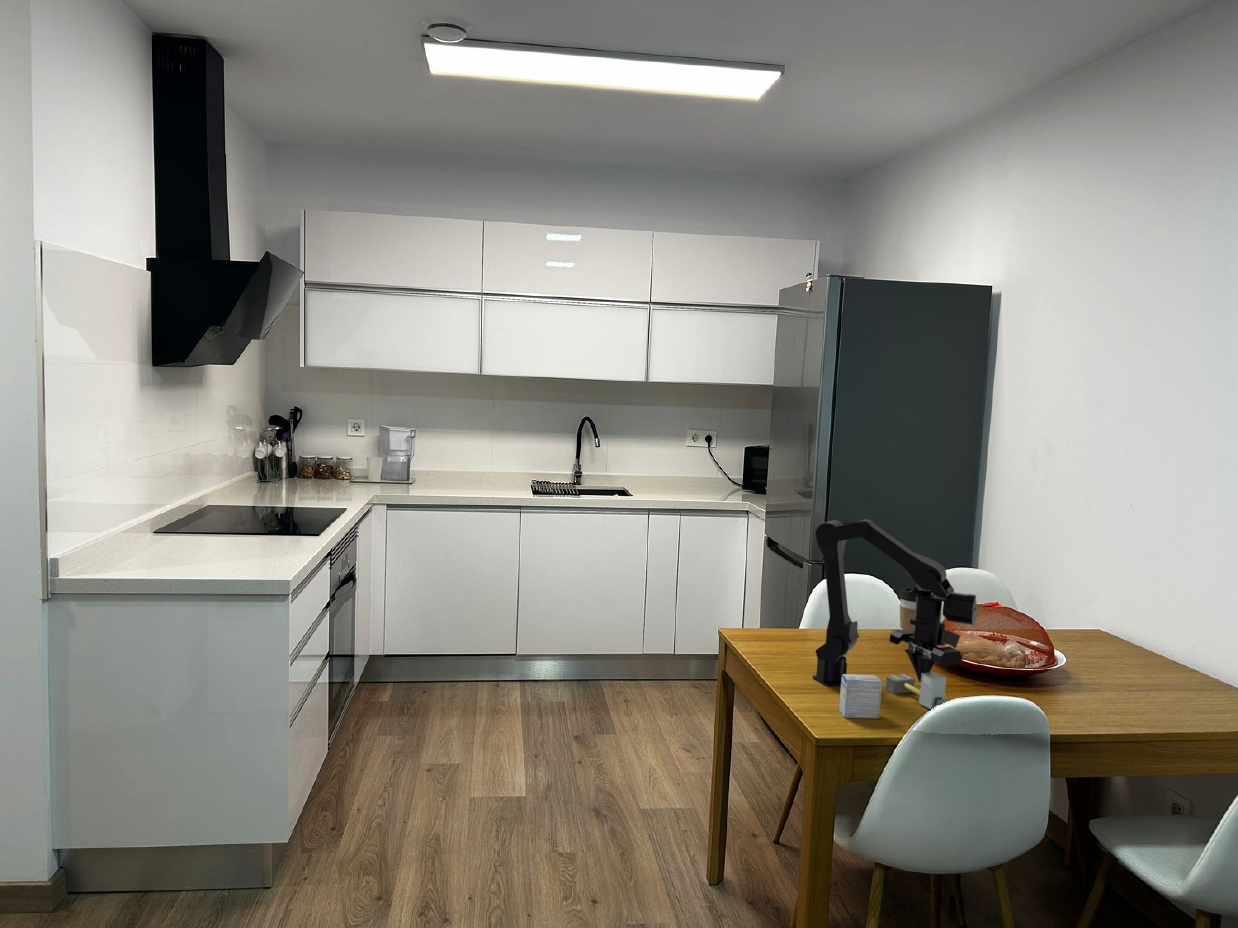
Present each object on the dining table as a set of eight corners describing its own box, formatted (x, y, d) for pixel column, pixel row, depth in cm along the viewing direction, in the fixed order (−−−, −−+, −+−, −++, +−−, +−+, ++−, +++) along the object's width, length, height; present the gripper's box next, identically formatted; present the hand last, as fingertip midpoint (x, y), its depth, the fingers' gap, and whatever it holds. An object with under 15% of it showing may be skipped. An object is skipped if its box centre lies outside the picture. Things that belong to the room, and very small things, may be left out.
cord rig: (940, 718, 205) (941, 703, 205) (885, 689, 222) (886, 675, 222) (961, 716, 207) (962, 700, 207) (905, 687, 225) (906, 673, 224)
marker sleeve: (930, 709, 209) (933, 678, 209) (919, 702, 213) (921, 673, 212) (943, 707, 211) (946, 677, 210) (931, 701, 215) (934, 672, 214)
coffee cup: (892, 641, 265) (897, 590, 263) (898, 634, 272) (903, 584, 271) (923, 646, 261) (927, 594, 259) (928, 639, 268) (932, 589, 267)
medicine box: (873, 712, 207) (876, 674, 206) (879, 719, 203) (882, 681, 202) (838, 710, 207) (841, 673, 206) (843, 718, 202) (846, 679, 201)
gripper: (984, 626, 208) (978, 693, 210) (928, 604, 225) (922, 666, 227) (945, 629, 204) (939, 697, 205) (890, 607, 221) (885, 670, 223)
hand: (921, 682), depth 215 cm, fingers closed
